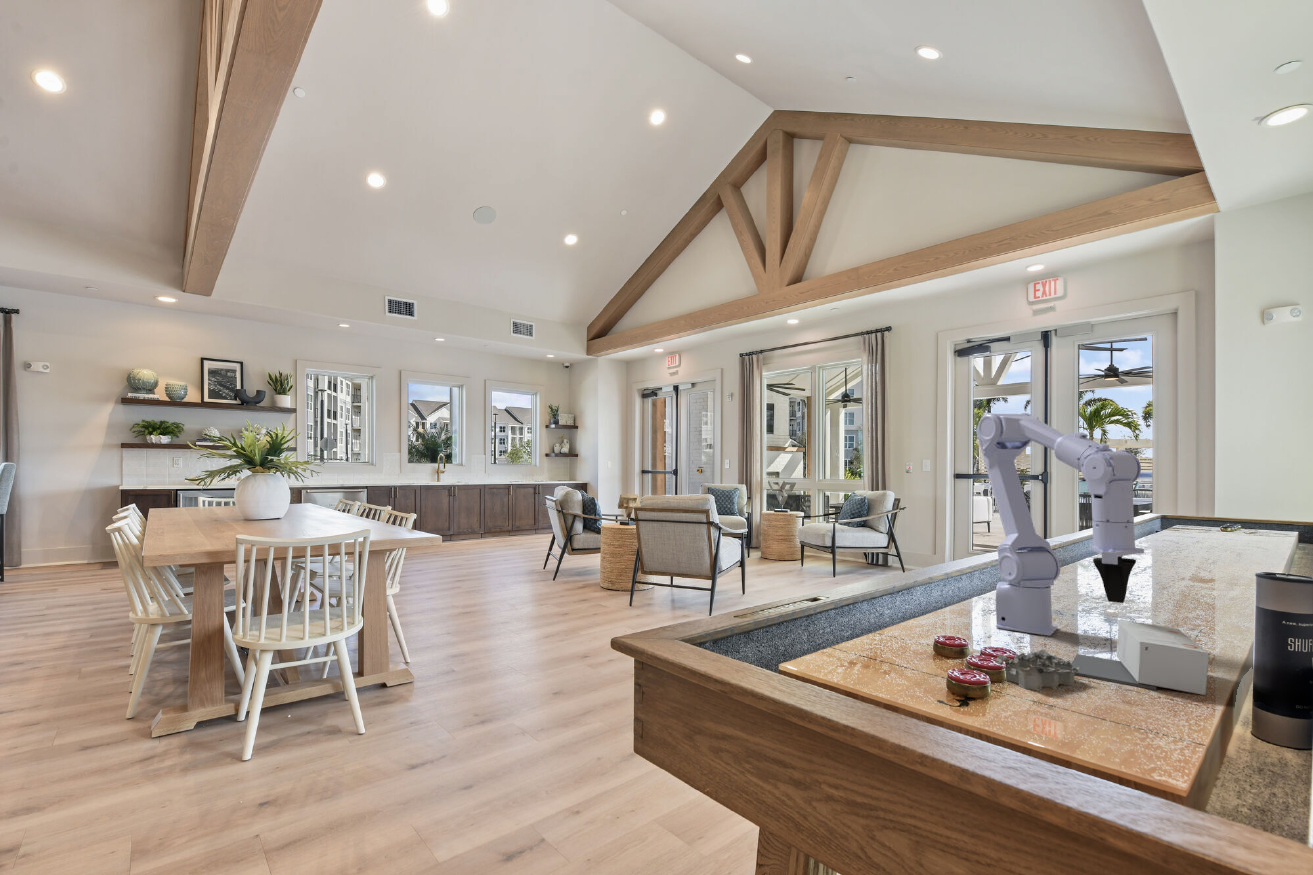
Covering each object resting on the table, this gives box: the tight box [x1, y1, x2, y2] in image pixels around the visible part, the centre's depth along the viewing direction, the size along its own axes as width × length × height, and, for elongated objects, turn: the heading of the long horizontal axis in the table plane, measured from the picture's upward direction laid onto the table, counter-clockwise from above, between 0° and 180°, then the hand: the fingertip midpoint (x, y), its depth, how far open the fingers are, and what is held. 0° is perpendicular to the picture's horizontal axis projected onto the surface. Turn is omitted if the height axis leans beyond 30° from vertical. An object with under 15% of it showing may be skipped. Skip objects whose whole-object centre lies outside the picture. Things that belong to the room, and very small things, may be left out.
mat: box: [1070, 653, 1158, 691], centre depth 97 cm, size 11×11×1 cm
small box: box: [1116, 619, 1210, 696], centre depth 95 cm, size 8×6×13 cm
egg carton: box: [994, 649, 1081, 691], centre depth 94 cm, size 10×7×4 cm
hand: (1116, 601), depth 104 cm, fingers closed
